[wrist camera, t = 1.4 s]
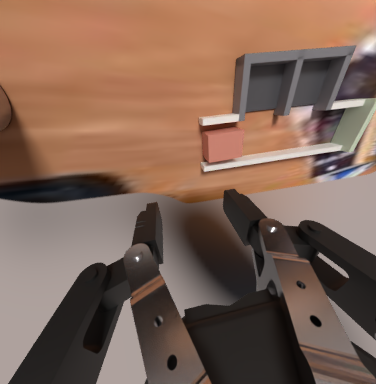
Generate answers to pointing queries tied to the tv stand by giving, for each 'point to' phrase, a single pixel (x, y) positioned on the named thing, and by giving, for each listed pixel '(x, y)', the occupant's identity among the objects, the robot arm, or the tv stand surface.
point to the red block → (222, 144)
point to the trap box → (294, 97)
